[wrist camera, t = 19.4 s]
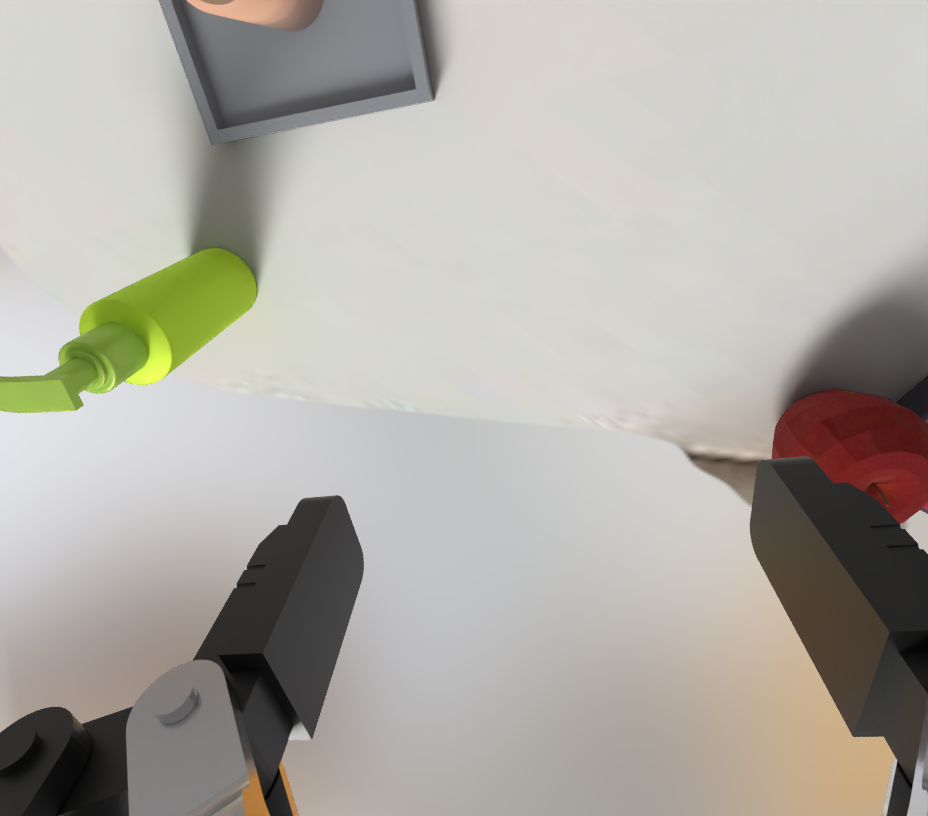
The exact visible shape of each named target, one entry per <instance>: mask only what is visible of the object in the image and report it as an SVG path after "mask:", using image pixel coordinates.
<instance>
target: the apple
mask: <svg viewBox="0 0 928 816" xmlns="http://www.w3.org/2000/svg"><path fill="white" fill-rule="evenodd" d="M804 456H808V457H810V458H812V459H813V460H814V461H815V462H816V463H817V464H818V465H819V467H820V468H821V469H822V470H823V471H824V473H825V474H826V475H827V476H828V477H829V479H830V480H831V481H832V482H833V483H843V482H848V483H850V484H851V485H853V486H855V487H856V488H858V489H860V490H861V491H863V492H865V493H866V494H868V495H870V496H871V497H873V498H875V499H876V500H878V501H879V502H880V503H881V504H882V505H883V506H884V507H885V508H886V509H887V511H888V512H889V513H890V514H891V515H892V516H893V517H894V518H895V519H896V520H897V521H898V523H899V524H900V523H903V522H905V521H906V520H907V519H909V518H910V517H911V516H912V515H914V514H915V513H916V512H918V511H919V510H920V509H922V508H923V507H924V506H925V505H926V504H927V503H928V423H927V422H926V421H924V420H923V419H922V418H921V417H919V416H918V415H917V414H916V413H914V412H913V411H911V410H909V409H907V408H905V407H903V406H901V405H899V404H897V403H895V402H893V401H890V400H888V399H886V398H884V397H880V396H874V395H869V394H864V393H858V392H851V391H844V390H837V389H835V390H829V391H823V392H817V393H814V394H812V395H809V396H807V397H804V398H802V399H799V400H797V401H796V402H795V403H794V404H793V405H792V406H791V407H790V408H789V409H787V410H786V411H785V412H784V414H783V415H782V417H781V418H780V420H779V422H778V423H777V425H776V427H775V434H774V440H773V450H772V459H780V458H792V457H804Z"/></svg>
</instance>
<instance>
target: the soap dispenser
mask: <svg viewBox="0 0 928 816" xmlns="http://www.w3.org/2000/svg"><path fill="white" fill-rule="evenodd" d="M256 296H257V285H256V281H255V278H254V275H253V273H252V272H251V270H250V268H249V267H248V266H247V264H246V263H245V262H244V261H243V260H242V259H241V258H239V257H238V256H237V255H235V254H233V253H232V252H229V251H227V250H224V249H220V248H208V249H204V250H202V251H200V252H198V253H196V254H194V255H191V256H189V257H187V258H185V259H183V260H181V261H179V262H177V263H175V264H173V265H171V266H169V267H167V268H165V269H163V270H161V271H158V272H156V273H154V274H152V275H150V276H148V277H146V278H144V279H142V280H140V281H138V282H136V283H134V284H132V285H130V286H127V287H125V288H123V289H121V290H119V291H117V292H115V293H113V294H111V295H109V296H107V297H105V298H103V299H101V300H99V301H96V302H94V303H93V304H91V305H90V306H88V307H87V308H86V309H85V311H84V312H83V314H82V316H81V319H80V324H79V330H80V336H79V337H77V338H75V339H74V340H72V341H70V342H68V343H67V344H65V345H64V346H63V347H62V348H61V350H60V352H59V364H60V366H59V367H58V368H56V369H54V370H53V371H51V372H49V373H47V374H46V375H44V376H22V377H0V411H6V412H17V413H36V412H37V413H38V412H59V411H74V410H78V409H79V408H80V407H82V406H83V403H82V401H81V399H80V397H79V395H78V394H79V393H80V392H82V391H83V390H85V391H88V392H91V393H106V392H108V391H110V390H112V389H114V388H115V387H117V386H118V385H119V384H121V383H122V382H123V381H124V382H127V383H131V384H137V385H147V384H152V383H155V382H158V381H160V380H161V379H163V378H164V377H165V376H166V375H168V374H169V373H170V372H172V371H173V370H174V369H175V368H177V367H178V366H179V365H180V364H182V363H183V362H184V361H185V360H187V359H188V358H189V357H190V356H192V355H193V354H194V353H195V352H197V351H198V350H199V349H200V348H202V347H203V346H204V345H205V344H207V343H208V342H209V341H210V340H212V339H213V338H214V337H215V336H217V335H218V334H219V333H220V332H222V331H223V330H224V329H226V328H227V327H228V326H229V325H231V324H232V323H233V322H234V321H236V320H237V319H238V318H239V317H241V316H242V315H243V314H244V313H246V312H247V311H248V310H249V309H250V308H251V307H252V306H253V304H254V302H255V300H256Z"/></svg>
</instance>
